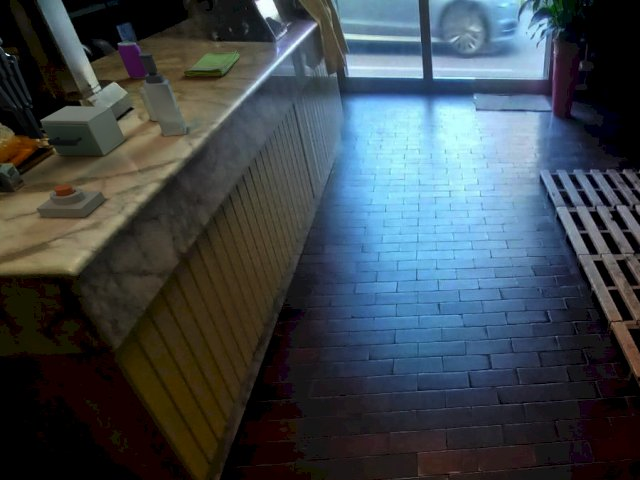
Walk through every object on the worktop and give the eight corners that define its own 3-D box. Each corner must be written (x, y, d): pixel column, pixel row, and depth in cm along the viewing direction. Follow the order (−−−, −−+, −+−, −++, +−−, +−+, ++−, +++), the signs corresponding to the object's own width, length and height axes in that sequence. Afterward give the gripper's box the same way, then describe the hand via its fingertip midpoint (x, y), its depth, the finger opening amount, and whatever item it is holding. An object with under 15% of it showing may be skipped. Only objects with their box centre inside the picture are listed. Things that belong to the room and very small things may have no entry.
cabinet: (104, 155, 152) (86, 121, 146) (59, 155, 151) (39, 120, 145) (125, 139, 162) (110, 106, 155) (83, 139, 161) (66, 106, 154)
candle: (146, 120, 176) (132, 87, 169) (157, 115, 180) (144, 83, 173) (161, 121, 175) (148, 89, 168) (171, 117, 179) (159, 85, 172)
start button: (70, 197, 124) (66, 190, 123) (54, 197, 124) (50, 190, 123) (78, 191, 127) (74, 184, 126) (62, 191, 126) (58, 184, 125)
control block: (85, 217, 125) (76, 201, 122) (41, 217, 124) (31, 201, 121) (105, 199, 132) (97, 184, 129) (64, 199, 131) (55, 184, 128)
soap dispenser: (186, 125, 173) (158, 49, 158) (186, 134, 168) (156, 56, 152) (165, 127, 171) (134, 50, 156) (163, 136, 166) (131, 57, 150)
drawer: (90, 159, 148) (75, 131, 142) (48, 159, 147) (32, 130, 141) (118, 139, 160) (105, 112, 154) (80, 138, 159) (65, 111, 153)
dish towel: (184, 77, 215) (181, 68, 213) (206, 57, 241) (203, 49, 238) (223, 77, 218) (220, 68, 215) (241, 57, 243) (238, 49, 241)
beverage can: (145, 73, 217) (131, 40, 209) (154, 77, 214) (141, 43, 206) (126, 77, 212) (111, 43, 204) (135, 80, 209) (121, 46, 201)
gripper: (-31, 30, 107) (38, 147, 123) (7, 19, 116) (67, 129, 133) (-70, 30, 106) (4, 147, 123) (-28, 19, 116) (36, 129, 132)
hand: (37, 138), depth 128 cm, fingers closed
